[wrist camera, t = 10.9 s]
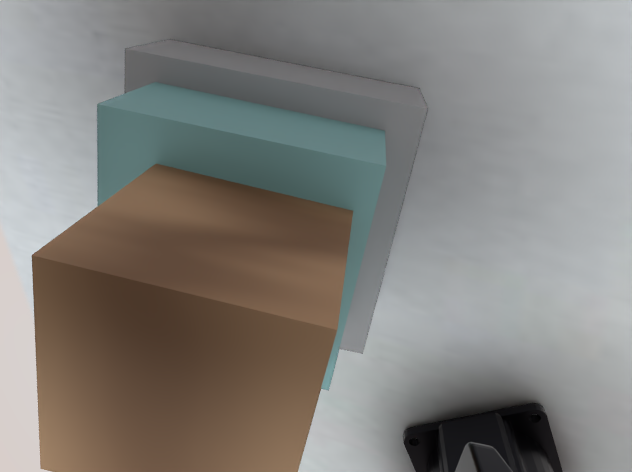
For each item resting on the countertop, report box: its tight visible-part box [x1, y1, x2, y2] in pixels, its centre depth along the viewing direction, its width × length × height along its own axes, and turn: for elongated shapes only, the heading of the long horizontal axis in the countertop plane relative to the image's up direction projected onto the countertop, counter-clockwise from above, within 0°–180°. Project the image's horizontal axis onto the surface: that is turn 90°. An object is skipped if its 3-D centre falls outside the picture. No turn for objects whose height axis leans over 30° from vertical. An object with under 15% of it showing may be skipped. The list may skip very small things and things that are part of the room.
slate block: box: [125, 39, 428, 354], centre depth 19 cm, size 9×9×4 cm
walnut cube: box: [32, 164, 353, 472], centre depth 11 cm, size 5×5×5 cm
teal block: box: [97, 82, 386, 390], centre depth 15 cm, size 7×7×4 cm
